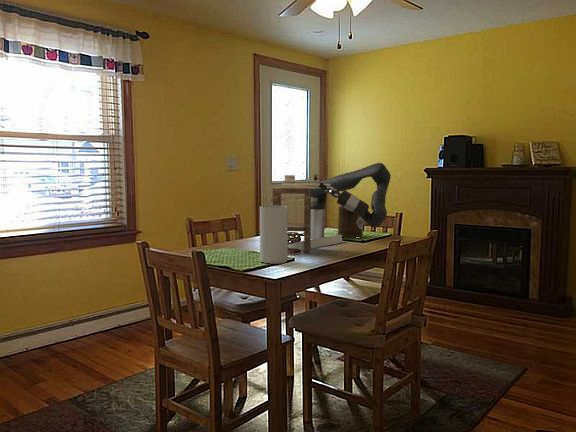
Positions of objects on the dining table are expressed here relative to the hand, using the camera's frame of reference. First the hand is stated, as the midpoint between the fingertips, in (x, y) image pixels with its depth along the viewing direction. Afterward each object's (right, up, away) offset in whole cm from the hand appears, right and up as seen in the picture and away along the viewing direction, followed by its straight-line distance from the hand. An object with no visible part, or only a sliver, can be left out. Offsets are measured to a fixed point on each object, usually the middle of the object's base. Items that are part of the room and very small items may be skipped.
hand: (319, 184), depth 254 cm
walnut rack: (-14, -33, +8) cm, 37 cm away
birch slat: (-7, -2, +1) cm, 7 cm away
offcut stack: (-15, -1, +9) cm, 18 cm away
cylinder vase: (-22, -37, -20) cm, 47 cm away
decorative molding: (-1, -32, +26) cm, 41 cm away
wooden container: (+22, -28, +55) cm, 65 cm away
